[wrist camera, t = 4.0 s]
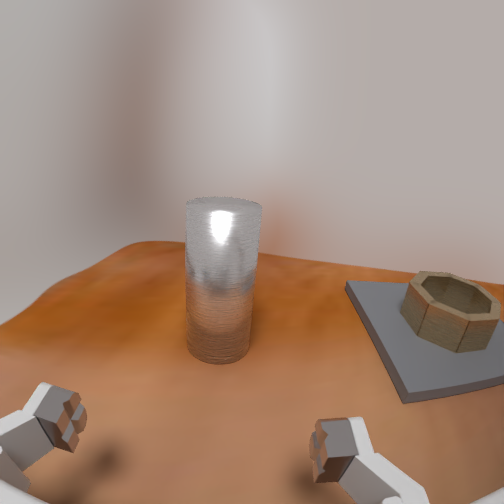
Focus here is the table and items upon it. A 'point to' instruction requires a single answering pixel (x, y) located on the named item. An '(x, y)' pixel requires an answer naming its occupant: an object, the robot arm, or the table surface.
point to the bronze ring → (450, 311)
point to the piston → (220, 276)
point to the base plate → (422, 348)
